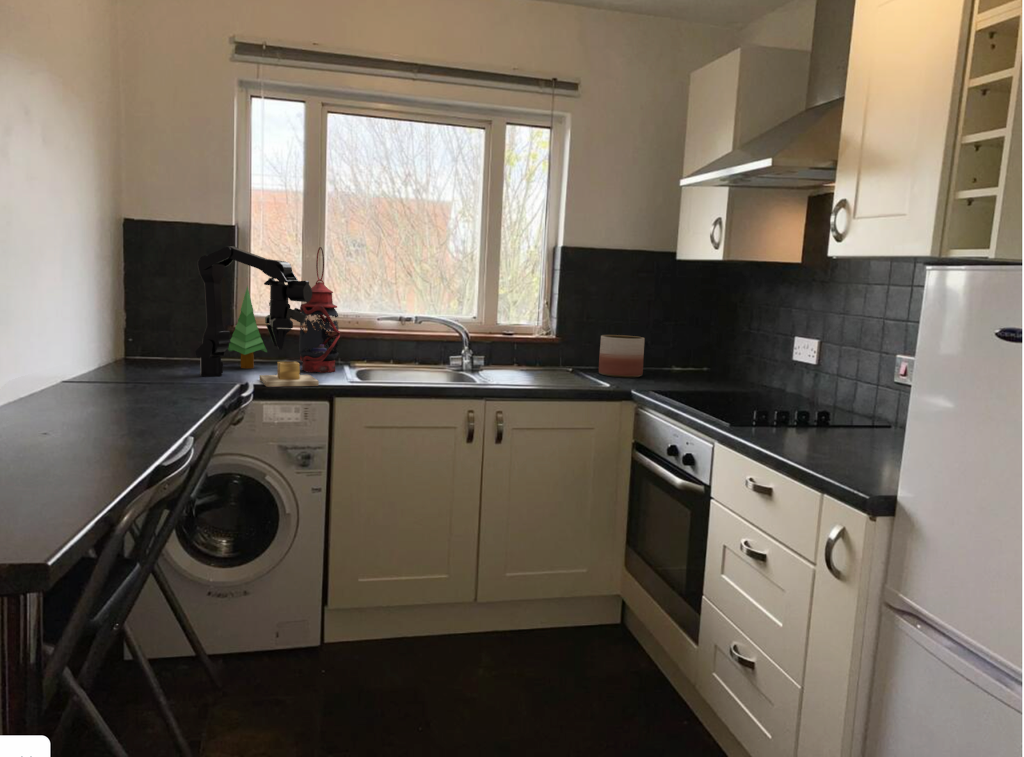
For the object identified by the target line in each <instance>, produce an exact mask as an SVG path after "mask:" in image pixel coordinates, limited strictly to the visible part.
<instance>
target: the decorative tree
mask: <svg viewBox="0 0 1024 757" xmlns="http://www.w3.org/2000/svg"><path fill="white" fill-rule="evenodd" d="M249 290H250V289H249V287H248V285H247V286H246V290H245V292H244V298H243V300H242V304H241V307H240V314H239V317H238V318H237V323H236V325H235V327H234V331H233V333H232V335H231V338H230V341H231V343H229V348H228V349H227V350H228V352H233V351H235V352H237V353H239V354H240V369H254V367H255V366H254V365H255V363H254V362H255V356H254V355H255V352H258V351H262V352H264V353H268V350H267V348H266V346H265V343H264V341H263V339H262V335H261V333H260V332H259V327H258V325H257V321H256V318H255V315H254V314H255V313H254V307H253V302H252V299H251V295H250V291H249Z"/></svg>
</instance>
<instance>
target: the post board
mask: <svg viewBox="0 0 1024 757" xmlns="http://www.w3.org/2000/svg"><path fill="white" fill-rule="evenodd" d="M258 378H259V381H260V382H261V381H262V382H263V383H264V384H263V383H262V382H261V383H262V384H263V385H264V386H265V387H269V388H272V387H274V388H275V387H317V386H319V385H320V384H319V383H320V382H319V380H318V379H316V378H314V376H312V375H310V374H300V379H279V378H278V374H263V375H262V374H260V375H259V377H258Z"/></svg>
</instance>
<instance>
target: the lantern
mask: <svg viewBox="0 0 1024 757" xmlns="http://www.w3.org/2000/svg"><path fill="white" fill-rule="evenodd" d="M320 251H321V254H322V255H321V256H322V271H321V276H320V277H319V270H318V268H319V267H318V266H319V265H318V264H319V262H318V261H319V253H320ZM324 269H325V256H324V249H323V248H322V247H321V246H320V247H318V250H317V254H316V276H317V280H316V282H315V284H314V285H313V286H312V287H311V290H312V298H311V300H310V301H309V302H304V303H301V304H300V307H299V309H300V310H301V313H303V314H305V315H306V318H305V320H304V322H303V324H302V323H300V322H299V328H300V329H299V342H298V352H299V357H300V358H299V359H300V361H301V362H302V365H301V366H302V368H301V369H302V371H303V370H304V371H303V372H305V371H306V372H305V373H313V372H320V373H319V374H321V373H334V372H336V360H335V359H336V358H337V357H338V356H339V351H338V350H337V349H339V347H338V346H339V339H340V337H341V331H340V330H339V323H338V320H332V318H335V319H337V318H339V314H338V312H337V310H336V308H338V306H337V305H336V304H334V302H333V293H334V292H333V290H331V289H329V288H328V287H327V286H326V285H325V282H324V281H323V277H324V271H325V270H324ZM310 316H311V317H315V318H314V320H313V319H312V320H310ZM331 317H332V318H331ZM304 330H305V331H306V332H305V331H304ZM328 332H330V333H328ZM333 332H334V333H336V334H333V335H332V333H333ZM332 340H333V341H332ZM325 346H326V347H325ZM328 347H329V348H328Z"/></svg>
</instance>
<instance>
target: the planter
mask: <svg viewBox="0 0 1024 757" xmlns="http://www.w3.org/2000/svg"><path fill="white" fill-rule="evenodd" d="M599 345H600V346H599V359H598V373H599V374H600V375H602V376H606V377H611V378H627V379H628V378H629V379H630V378H632V379H633V378H634V379H635V378H639V377H642V376H643V372H644V357H645V355H644V354H645V337H641V336H635V335H634V336H633V335H623V334H621V335H620V334H618V335H617V334H602V335H600V344H599Z"/></svg>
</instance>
